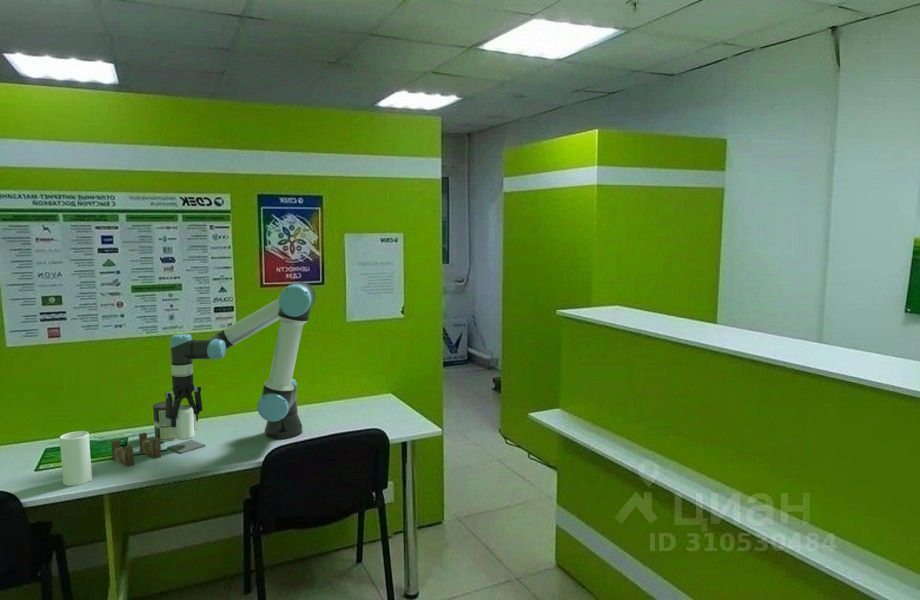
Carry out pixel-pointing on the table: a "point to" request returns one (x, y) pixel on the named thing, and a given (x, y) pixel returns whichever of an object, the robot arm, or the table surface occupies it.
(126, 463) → the brown cradle stand
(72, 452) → the cup
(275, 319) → the robot arm
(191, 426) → the can
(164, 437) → the coffee can
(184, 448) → the pad
